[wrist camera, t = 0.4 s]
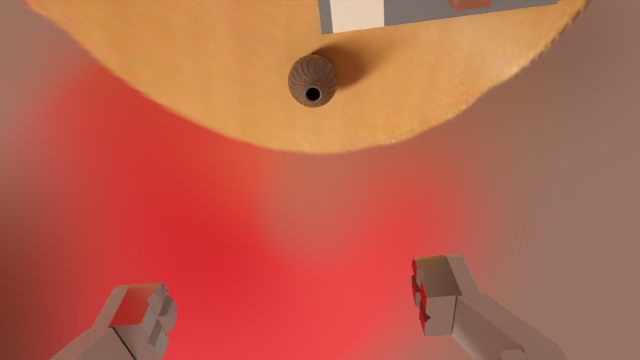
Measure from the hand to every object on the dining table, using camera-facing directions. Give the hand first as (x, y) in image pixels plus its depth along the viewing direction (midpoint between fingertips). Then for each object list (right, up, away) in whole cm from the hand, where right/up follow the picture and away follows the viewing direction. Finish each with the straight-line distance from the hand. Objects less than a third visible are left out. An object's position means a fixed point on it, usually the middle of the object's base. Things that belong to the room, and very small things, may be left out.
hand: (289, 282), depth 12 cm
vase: (0, +19, +43) cm, 47 cm away
